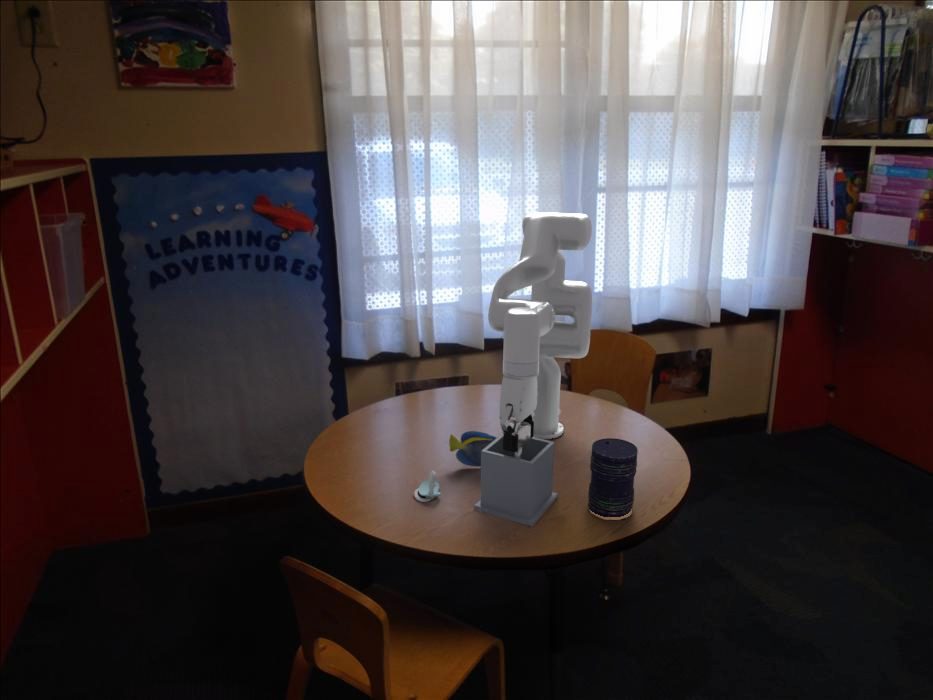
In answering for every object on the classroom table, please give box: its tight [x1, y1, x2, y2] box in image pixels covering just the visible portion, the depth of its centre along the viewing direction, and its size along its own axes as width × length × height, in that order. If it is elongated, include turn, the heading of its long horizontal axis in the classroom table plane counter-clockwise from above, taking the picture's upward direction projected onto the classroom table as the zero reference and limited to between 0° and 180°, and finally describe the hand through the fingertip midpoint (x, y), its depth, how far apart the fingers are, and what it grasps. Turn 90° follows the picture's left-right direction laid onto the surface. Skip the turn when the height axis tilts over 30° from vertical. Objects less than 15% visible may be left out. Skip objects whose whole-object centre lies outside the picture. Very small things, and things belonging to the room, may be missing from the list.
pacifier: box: [413, 470, 442, 503], centre depth 156 cm, size 7×6×6 cm
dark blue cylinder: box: [587, 437, 639, 517], centre depth 150 cm, size 10×10×15 cm
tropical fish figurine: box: [448, 430, 498, 467], centre depth 169 cm, size 16×3×10 cm, turn 86°
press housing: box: [473, 433, 559, 528], centre depth 152 cm, size 14×14×14 cm
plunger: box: [509, 421, 531, 459], centre depth 151 cm, size 9×9×16 cm
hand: (518, 442), depth 150 cm, fingers open, 7 cm apart
